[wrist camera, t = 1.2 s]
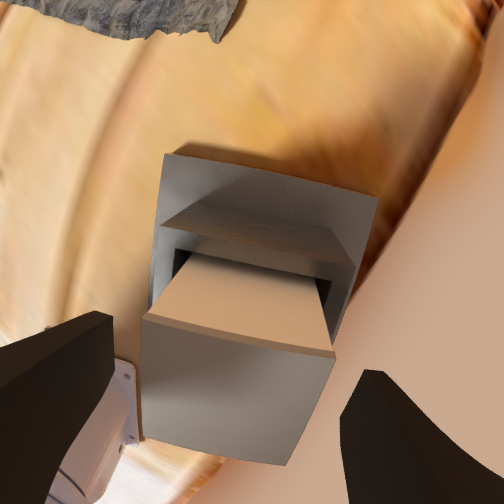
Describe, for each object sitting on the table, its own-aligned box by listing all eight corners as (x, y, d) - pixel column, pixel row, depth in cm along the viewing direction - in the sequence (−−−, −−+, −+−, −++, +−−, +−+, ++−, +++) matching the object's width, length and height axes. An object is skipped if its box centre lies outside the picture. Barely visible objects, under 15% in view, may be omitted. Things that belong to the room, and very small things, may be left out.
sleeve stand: (319, 363, 18) (331, 441, 12) (152, 328, 18) (110, 394, 12) (372, 195, 15) (425, 222, 9) (171, 153, 15) (112, 157, 9)
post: (284, 325, 16) (287, 467, 8) (199, 307, 16) (141, 436, 8) (306, 244, 15) (340, 357, 6) (212, 224, 15) (138, 315, 6)
